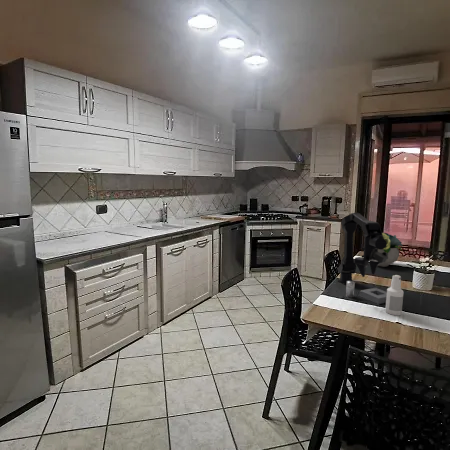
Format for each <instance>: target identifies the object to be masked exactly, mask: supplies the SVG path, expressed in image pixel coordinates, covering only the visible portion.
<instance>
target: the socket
mask: <svg viewBox="0 0 450 450" xmlns="http://www.w3.org/2000/svg"><path fill="white" fill-rule="evenodd" d="M358 295H359V297H361V298H363V299H365V300H367V301H371V302H373V303H375V304H377V305H380V304H384V303H385V304H386V297H387V290H383V289H379V288H377V287H372V288H367V289H362V290H359V294H358Z"/></svg>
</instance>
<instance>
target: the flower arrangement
mask: <svg viewBox="0 0 450 450" xmlns="http://www.w3.org/2000/svg"><path fill="white" fill-rule="evenodd" d="M382 235H383V238H384V239H385V240H386V243H387V245H386V247H385V248H384V249H381V250H380V249H378V252H380V253H383V252H386V253H388V259H386V261H385V262H383V263H380V264H379V265H378V267H382V268H385V267H389V265H390V264H393V263H395V262H396V261H398V260H399V257H400V251H401V252H402V251H403V249H402V247H403V244H402V241H401V240H400V239H399V238H397V235H396V234H393V235H392V234H390V233H388V232H382Z"/></svg>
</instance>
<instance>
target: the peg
mask: <svg viewBox="0 0 450 450" xmlns="http://www.w3.org/2000/svg"><path fill="white" fill-rule="evenodd" d="M355 284H356V283H355V281H354V280H352V281H347V284H345V285H346V287H345V297H347V298H354V297H355Z"/></svg>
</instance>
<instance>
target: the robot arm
mask: <svg viewBox="0 0 450 450" xmlns="http://www.w3.org/2000/svg"><path fill="white" fill-rule="evenodd" d="M340 222H341V229H342V230H343V232H344V243H343V244H344V247H343V249H344V250H343V252H344V253H343V257H342V259H341V260H340V264H339V266H338V267H337V272H338V273H339V280H337V282H339V283H342V284H344V285H347V281H353V275H354V274H355V273H356V270H357V268H358V271H359V272H360V274H361V275H360V276H361V277H363V278H364V277H365V276H366V271H367V267H368V266H370V271H371V274H372V275H375V274H376V271H377V268H378V267H379V266H378V265H379V264H380V263H383V262H385V261H386V259H388V253H386V252H383V253H380V252H378V249H380V250H381V249H384V248H385V247H386V245H387V243H386V240H385V239H384V238H383V235H382V233H383V231H382V229H381V226H380V223H379V222H377V221H374V220H369V219H368V218H366V217H365V216H363V215H362V214H361V213H359V212H351V213H350V214H348V215H346V216H345V217H343V218H342V220H341V221H340ZM358 225H359V226H360V227H361V231H362V232H363V233H364V234H362V236H363V237H364V238H363V239H364V243H363V247H361V250H363V254H362V255H361V257H360V256H358V257H354V233H355V232H356V230H357V228H358V227H357V226H358Z"/></svg>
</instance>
